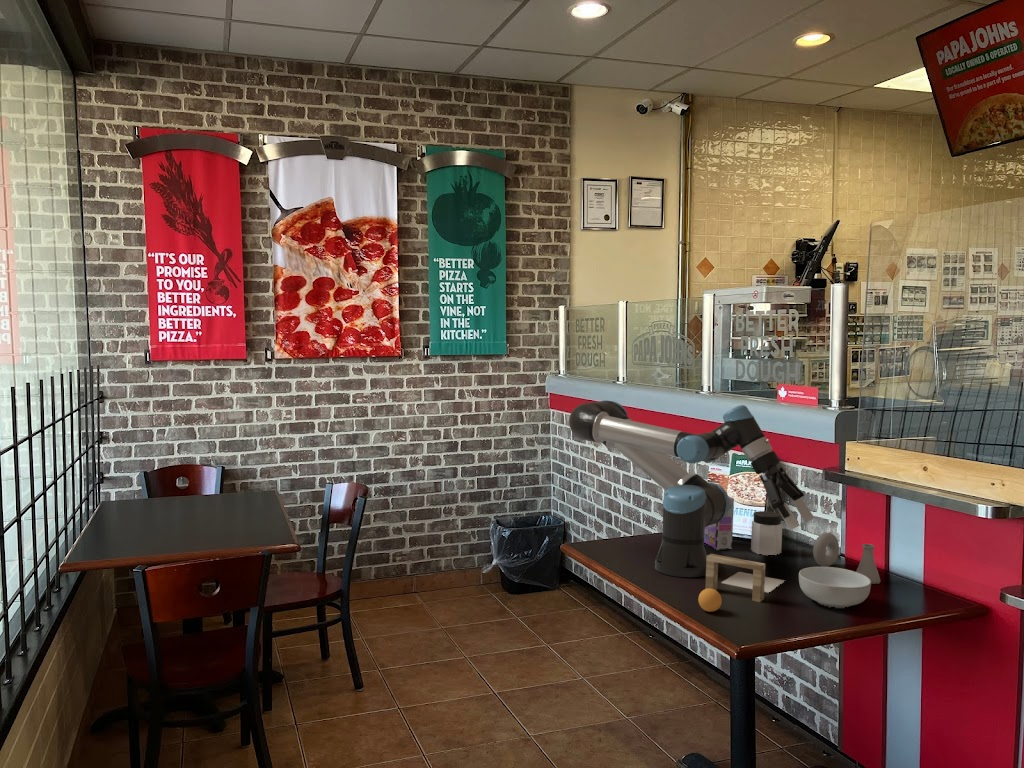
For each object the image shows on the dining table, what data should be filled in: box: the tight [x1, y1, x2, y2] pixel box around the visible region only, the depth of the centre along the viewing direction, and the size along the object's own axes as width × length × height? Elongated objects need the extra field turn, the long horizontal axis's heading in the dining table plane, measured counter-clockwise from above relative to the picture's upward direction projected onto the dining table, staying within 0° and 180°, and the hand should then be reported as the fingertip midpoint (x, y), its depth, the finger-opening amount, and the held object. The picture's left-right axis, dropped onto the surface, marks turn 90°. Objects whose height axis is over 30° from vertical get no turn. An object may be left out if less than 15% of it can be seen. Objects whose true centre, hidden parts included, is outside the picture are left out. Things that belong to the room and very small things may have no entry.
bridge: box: [704, 553, 766, 603], centre depth 214 cm, size 3×14×9 cm, turn 54°
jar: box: [750, 510, 783, 556], centre depth 256 cm, size 9×8×12 cm
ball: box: [697, 588, 723, 613], centre depth 201 cm, size 6×6×6 cm
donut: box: [812, 532, 840, 567], centre depth 242 cm, size 10×4×10 cm, turn 125°
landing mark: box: [720, 571, 786, 594], centre depth 225 cm, size 13×13×1 cm
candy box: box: [704, 495, 735, 551], centre depth 264 cm, size 14×6×16 cm, turn 12°
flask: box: [855, 543, 882, 585], centre depth 229 cm, size 7×7×10 cm
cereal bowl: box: [798, 566, 872, 609], centre depth 209 cm, size 17×17×7 cm
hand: (802, 524), depth 227 cm, fingers open, 13 cm apart
